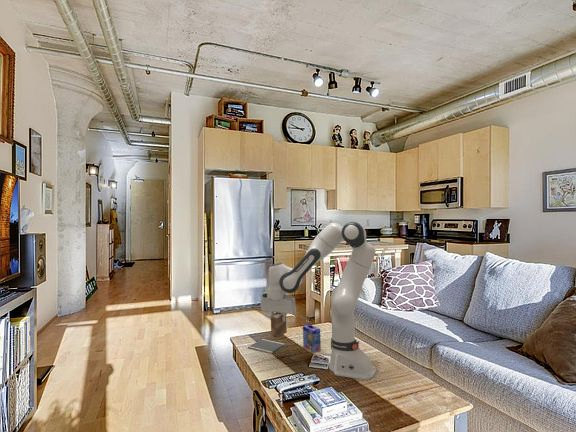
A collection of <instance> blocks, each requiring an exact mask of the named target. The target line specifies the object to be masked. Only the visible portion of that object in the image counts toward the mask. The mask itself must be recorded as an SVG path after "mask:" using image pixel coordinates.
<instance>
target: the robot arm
mask: <svg viewBox="0 0 576 432" xmlns="http://www.w3.org/2000/svg"><path fill="white" fill-rule="evenodd" d="M367 236H368V233H367V231H366V228H365V227H364V226H363V225H362V224H360V223H358V222H356V221H349V222H347V223H345V224H344V225H341V224H340V223H338V222H330V223H329V224H327V225H326V226H325V227H324V228H323V229H321V230H320V232H318V233H317V235H316V237H314V239H313V240H312V242H311V244H310V245H309V247H308V249H307V251H306V253H305V254H304V256H303V257H302V258H301V260H300V261H298V263H297V264H296V265H295V266H294V267H293V268H292V267H289V266H287V265H285V264H284V263H283V262H278V263H274V264H271V265H270V266H269V268H268V284H269V287H268V291H265V292H262V293H261V294H260V297H261V299H260V310H261V311H263V312H269V314H270V315H272V314H274V313H276V312H278V313H282V314H283V317H282V318H281V321H283V322H284V321H285V317H286V318H287V315H294V314H295V313H296V312H297V306H296V305H297V304H296V297H295V296H293V295H292V293H295V292H297V291H298V289H299V288H300V286H301V285H302V283H303V281H304V277H305V276H306V275H307V273H308V272H309V271H310V270H311V268H313V266H315V265H316V264H317V263H318V262H320V261H322V260H323V259H325V258H326V257H327V256H329V255H330V254H331V253H332V252H333V251H334V250H335V248H337V246H338V245H340V243H342V242H345V243H346V244H348V245H349V246H350V248H352V252H351V254H350V256H349V258H348V261H347V262H346V264H345V267H344V269H343V271H342V273H341V277H340V280H339V283H338V285H337V286H335V287H334V288H333V290H332V291H331V295H330V308H331V309H330V310H331V338H330V349H331V351H330V352H331V353H330V354H331V355H330V360H329V365H328V369H329V370H330V371H331V372H332V373H333V375H335V376H338V377H345V378H351V379H357V380H359V379H360V380H365V381H366V380H367V381H368V380H371V379H372V378H373V377H375V376H376V374H377V373H376V372H377V368H376V366H374V365H372V362H371V358H370V356H369V355H368V354H367V353H365V352H364V351H363V350H362V349H361V348H360V347H359V345H360V340H358V341H357V340H356V337H355V335H356V333H355V332H356V331H355V327H356V326H355V313H354V311H355V309H356V306H357V303H358V302H359V301H358V300H359V298H360V295H361V293H362V288H363V286H364V282H365V280H366V279H367V276H368V274H369V272H370V270H371V268H372V265H373V263H374V261H375V256H376V248H375V246H373V244H371V243H369V242H368V241H367ZM289 294H291V295H289Z"/></svg>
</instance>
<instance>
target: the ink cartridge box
mask: <svg viewBox="0 0 576 432" xmlns="http://www.w3.org/2000/svg"><path fill="white" fill-rule="evenodd" d="M321 341H322V340H321V328H319V327H317V326H314V325H312V324H311V323H309V322H307V324H305V325H303V326H302V344H303V345H302V346H303V348H305V349H307V350H309V351H310V352H311V353H317V352H319V351H322V348H321V345H322V343H321Z"/></svg>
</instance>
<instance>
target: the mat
mask: <svg viewBox="0 0 576 432" xmlns="http://www.w3.org/2000/svg"><path fill="white" fill-rule="evenodd" d="M284 346H285V343H282V342H278V341H273V340H269V339H264V338H261V339H260V340H258V341H256V342H254V343H252V344H251V345H249V346H247V349H248V350H252V351H253V350H254V351H257V352H261V353H266V354H270V355H272V354H274V353H275V352H277V351H279V350H280V349H281V348H282V347H284Z"/></svg>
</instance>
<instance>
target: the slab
mask: <svg viewBox="0 0 576 432" xmlns="http://www.w3.org/2000/svg"><path fill="white" fill-rule="evenodd" d="M282 317H283V314H282V313H278V312H274V314H272V315H271V314H270V332H271V333H270V335H271V337H272V338H277V339H278V338H280V337H281V336H284V335H285V334H286V333H287V316H286V317H285V321H284V322H283V321H281V318H282Z"/></svg>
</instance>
